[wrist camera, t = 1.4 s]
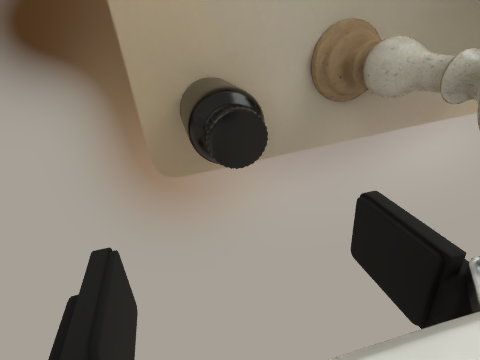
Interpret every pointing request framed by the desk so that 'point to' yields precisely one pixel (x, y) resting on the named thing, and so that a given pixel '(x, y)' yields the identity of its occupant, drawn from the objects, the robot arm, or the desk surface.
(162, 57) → the desk surface
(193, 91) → the supplement bottle
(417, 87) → the candle holder
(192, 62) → the desk surface
